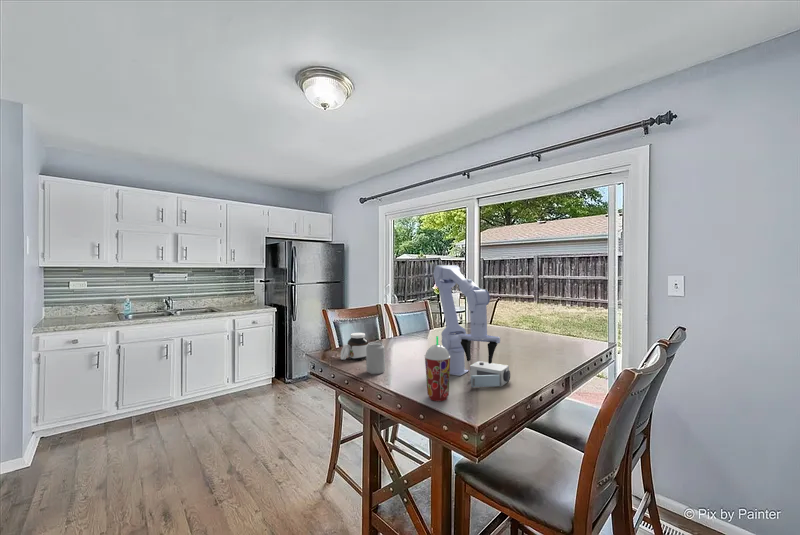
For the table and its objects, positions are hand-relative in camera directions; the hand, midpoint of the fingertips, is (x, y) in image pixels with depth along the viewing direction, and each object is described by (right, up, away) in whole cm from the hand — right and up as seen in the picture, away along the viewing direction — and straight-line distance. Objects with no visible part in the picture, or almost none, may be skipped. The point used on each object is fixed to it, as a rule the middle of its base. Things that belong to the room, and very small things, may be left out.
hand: (479, 361), depth 121 cm
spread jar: (-50, -10, +39) cm, 64 cm away
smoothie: (-16, -9, -11) cm, 21 cm away
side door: (+2, -8, -2) cm, 9 cm away
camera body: (+5, -9, +6) cm, 12 cm away
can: (-38, -9, +18) cm, 43 cm away
